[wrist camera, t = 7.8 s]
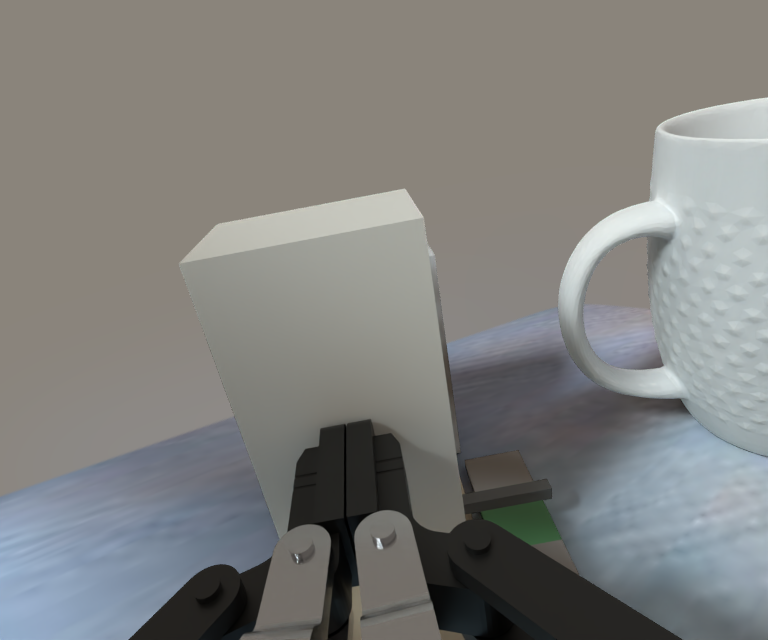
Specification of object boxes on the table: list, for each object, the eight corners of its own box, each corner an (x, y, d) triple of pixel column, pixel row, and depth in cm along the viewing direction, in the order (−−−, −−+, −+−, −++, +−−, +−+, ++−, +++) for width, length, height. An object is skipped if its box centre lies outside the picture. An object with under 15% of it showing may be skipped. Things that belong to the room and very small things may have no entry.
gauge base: (644, 717, 13) (673, 416, 9) (260, 787, 13) (110, 520, 9) (497, 412, 26) (480, 227, 22) (301, 448, 26) (246, 271, 22)
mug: (605, 532, 18) (615, 179, 13) (534, 375, 28) (523, 138, 23) (1053, 492, 17) (1279, 72, 11) (812, 341, 27) (872, 77, 21)
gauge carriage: (571, 541, 17) (567, 190, 12) (299, 591, 17) (178, 263, 12) (531, 462, 20) (514, 167, 15) (307, 504, 21) (217, 224, 16)
